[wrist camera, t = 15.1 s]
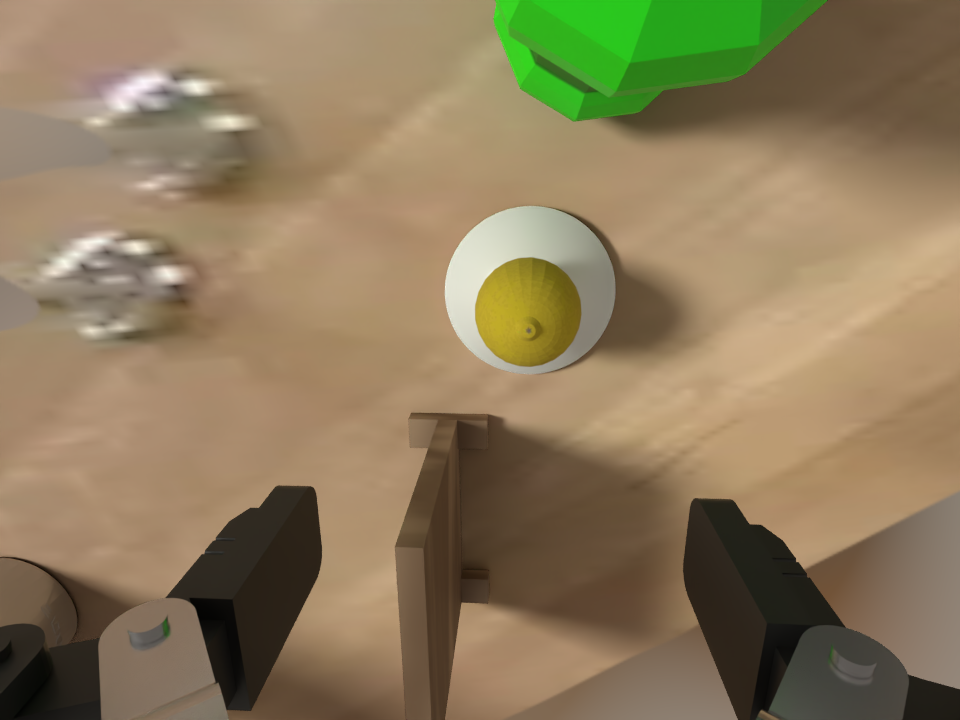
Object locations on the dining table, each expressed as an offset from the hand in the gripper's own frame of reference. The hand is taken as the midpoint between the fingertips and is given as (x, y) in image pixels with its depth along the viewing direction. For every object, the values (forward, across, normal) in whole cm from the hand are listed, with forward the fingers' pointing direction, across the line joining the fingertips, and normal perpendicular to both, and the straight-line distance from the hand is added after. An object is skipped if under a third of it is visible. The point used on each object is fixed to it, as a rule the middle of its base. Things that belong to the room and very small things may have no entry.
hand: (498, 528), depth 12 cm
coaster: (+24, -1, 0) cm, 24 cm away
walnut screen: (+24, +4, +14) cm, 28 cm away
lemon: (+23, -1, 0) cm, 23 cm away
